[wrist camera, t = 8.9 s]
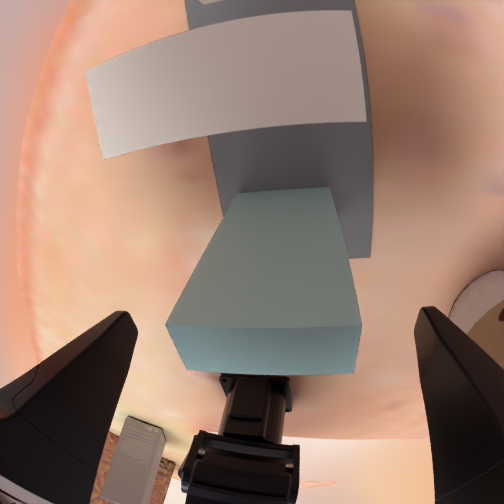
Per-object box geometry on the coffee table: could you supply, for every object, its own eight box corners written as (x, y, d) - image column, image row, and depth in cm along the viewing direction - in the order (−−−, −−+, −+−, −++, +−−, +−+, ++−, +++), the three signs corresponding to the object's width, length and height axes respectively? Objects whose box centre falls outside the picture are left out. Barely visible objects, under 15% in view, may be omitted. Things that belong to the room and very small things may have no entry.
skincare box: (126, 414, 37) (93, 493, 24) (168, 429, 37) (139, 513, 24) (134, 431, 42) (106, 499, 29) (170, 444, 42) (146, 515, 28)
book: (177, 463, 50) (144, 567, 25) (164, 465, 55) (135, 557, 29) (75, 410, 45) (26, 514, 20) (73, 418, 50) (31, 510, 25)
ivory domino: (321, 103, 13) (366, 121, 4) (222, 114, 14) (104, 159, 5) (316, 65, 12) (351, 10, 3) (216, 78, 13) (85, 71, 4)
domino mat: (369, 254, 17) (370, 257, 16) (234, 260, 18) (233, 263, 18) (313, -113, 4) (313, -115, 4) (174, -91, 6) (172, -93, 6)
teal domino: (330, 221, 16) (353, 373, 7) (243, 225, 17) (186, 369, 8) (329, 187, 15) (361, 324, 6) (237, 193, 16) (165, 324, 7)
